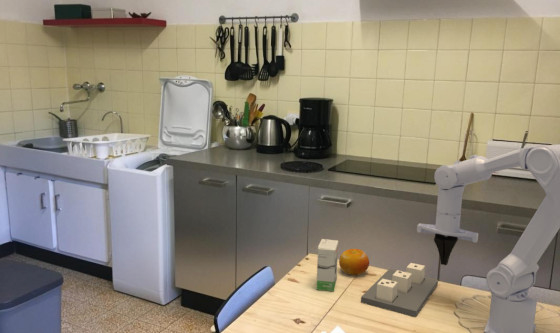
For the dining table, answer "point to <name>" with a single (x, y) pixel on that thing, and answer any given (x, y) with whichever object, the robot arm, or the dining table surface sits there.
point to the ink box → (327, 264)
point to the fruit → (354, 261)
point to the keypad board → (402, 296)
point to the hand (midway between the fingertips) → (444, 263)
